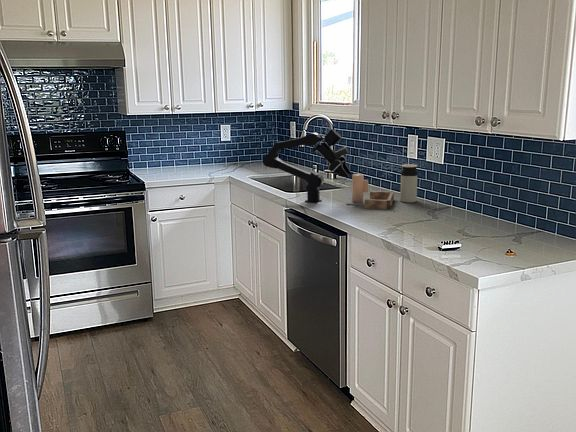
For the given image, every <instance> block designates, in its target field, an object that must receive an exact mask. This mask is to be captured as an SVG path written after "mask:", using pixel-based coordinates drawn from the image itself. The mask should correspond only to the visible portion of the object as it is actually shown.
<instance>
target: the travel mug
mask: <svg viewBox="0 0 576 432" xmlns="http://www.w3.org/2000/svg"><path fill="white" fill-rule="evenodd" d="M401 167H402V168H401V170H400V191H399V193H400V194H399V196H400V198H399V200H400V202H402V203H406V204H407V203H409V204H410V203H416V202H417V198H418V196H417V195H418V175H419V174H418V170H417V167H418V165H417V164H413V163H411V164H409V163H408V164H405V163H404V164H402V165H401Z"/></svg>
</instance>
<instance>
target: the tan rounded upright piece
mask: <svg viewBox="0 0 576 432" xmlns="http://www.w3.org/2000/svg"><path fill="white" fill-rule="evenodd" d="M351 175H352V176H351V177H352V178H351V181H352V183H351V200H352V202H353V203H363V200H364V193H369V179H364V176H365V175H364V174H363V173H353V174H351Z"/></svg>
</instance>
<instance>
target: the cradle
mask: <svg viewBox="0 0 576 432" xmlns="http://www.w3.org/2000/svg"><path fill="white" fill-rule="evenodd" d="M394 196H395V191H382V190H381V191H379V190H369V199H367V198H364V200H365V205H364V209H379V210H380V209H381V210H384V209H385V210H390V209H391V207H392V204H393V202H394V199H395V197H394Z"/></svg>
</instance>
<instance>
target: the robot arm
mask: <svg viewBox="0 0 576 432" xmlns="http://www.w3.org/2000/svg"><path fill="white" fill-rule="evenodd" d="M342 138H343V137H342V136H341V134H340V133H339V132H337V131H335V130H334V128H331V129H330V130H329V131H328V132H327V133H326V134H325V135H321V134H319V133H318V132H312V133H309V134H307V135H304V136H302V137H298V138H294V139H288V140H284V141H277V142H275V143H273V146H272V147H271V149H270V150H269V151H268V153H267V154H266V155H264V157H263V158H262V164H263V166H264V167H268V168H272V169H278V170H281V171H283V172H285V173H288V174H289V175H292V176H295V177H297V178H300V179H302V180H303V181H305V182H306V183H307V185H306V186H305V188H306V194H307V197H306V198H307V199H305V200H304V202H306V203H307V202H308V203H313V204H315V203H319V202H322V201H323V199H321V198H320V197H321V195H320V192H321V191H320V188H321V186H322V185H323V184H324V181H325V178H324V176H323V175H322V174H321V173H320V172H317V171H316V170H312V171H310V172H309V171H306V170H303V169H301V168H300V167H297V166H294V165H292V164H291V163H287V162H286V161H283V160H282V159H281V158H279V155H280V152H281V151H282V150H285V149H290V148H295V147H299V146H313V147H312V153H313V154H314V153H316V152H317V153H319V155H320V156H321V157H322V158H323V160H324V161H325V162H328V164H329V166H328V170H329V171H330V172H331V173H333V174H336V175H340V176H341V177H343V178H346V179H348V178H349V177H350V176H351V175H352V172H351V170H350V168H349V167H348V165H347V158H346V157H345V156H346V155H348V154H349V153H350V152H349V150H348V147H345V146H344V145H342V146H341V147H339V150H335V149H332V147H335V146H336V144H338V143H339V142H340V141H341V140H342ZM321 142H322V143H321Z"/></svg>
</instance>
